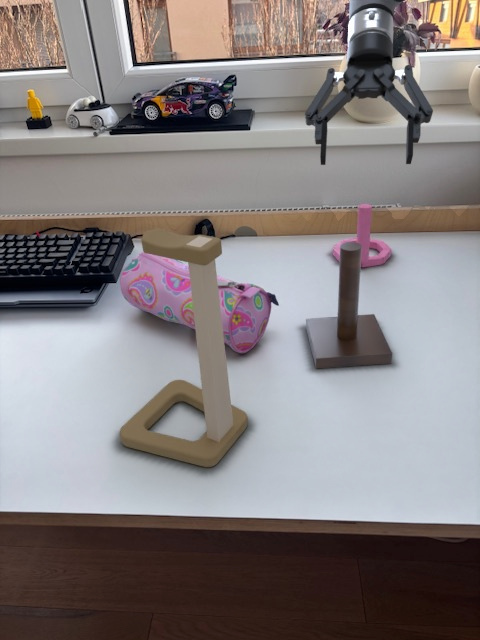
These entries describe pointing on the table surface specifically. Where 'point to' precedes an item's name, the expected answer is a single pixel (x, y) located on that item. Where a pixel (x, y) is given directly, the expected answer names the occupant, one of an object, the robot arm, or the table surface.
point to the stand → (348, 323)
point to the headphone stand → (215, 393)
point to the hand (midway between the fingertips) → (365, 160)
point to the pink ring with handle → (366, 240)
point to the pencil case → (176, 299)
